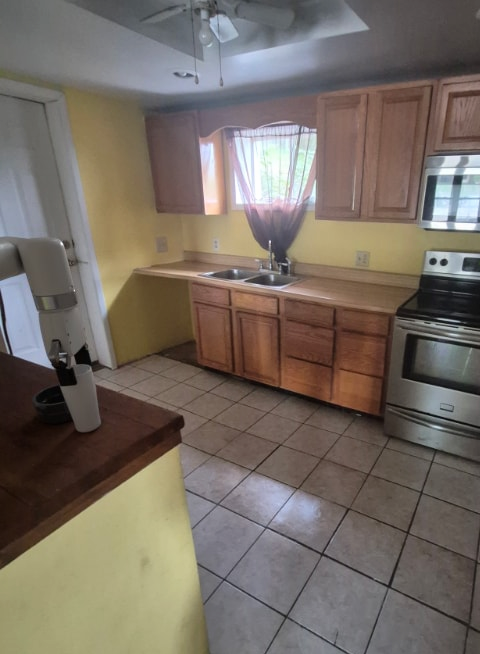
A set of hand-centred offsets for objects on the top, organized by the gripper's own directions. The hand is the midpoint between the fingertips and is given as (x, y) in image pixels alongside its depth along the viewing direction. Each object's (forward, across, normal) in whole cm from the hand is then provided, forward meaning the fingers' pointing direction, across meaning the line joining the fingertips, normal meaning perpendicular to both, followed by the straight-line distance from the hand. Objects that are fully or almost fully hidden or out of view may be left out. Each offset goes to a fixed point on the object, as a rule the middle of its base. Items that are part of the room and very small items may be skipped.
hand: (77, 375), depth 83 cm
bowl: (+14, -8, -9) cm, 18 cm away
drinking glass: (+14, 0, -1) cm, 14 cm away
